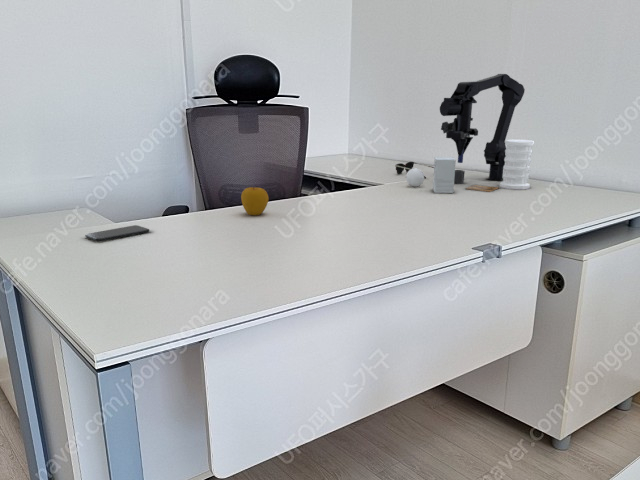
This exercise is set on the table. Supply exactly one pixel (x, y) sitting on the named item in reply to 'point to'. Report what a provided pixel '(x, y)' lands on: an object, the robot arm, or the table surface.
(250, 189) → the apple
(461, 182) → the pen cup
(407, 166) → the sunglasses
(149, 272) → the table surface
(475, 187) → the sketch board
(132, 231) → the smartphone
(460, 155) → the marker
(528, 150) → the decorative container
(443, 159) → the white packaging box
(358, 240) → the table surface
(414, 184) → the white ball
